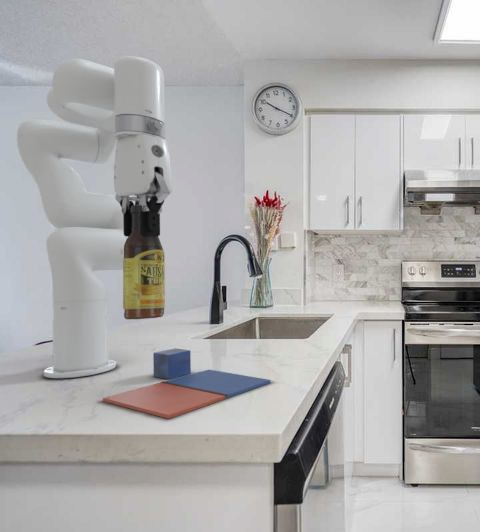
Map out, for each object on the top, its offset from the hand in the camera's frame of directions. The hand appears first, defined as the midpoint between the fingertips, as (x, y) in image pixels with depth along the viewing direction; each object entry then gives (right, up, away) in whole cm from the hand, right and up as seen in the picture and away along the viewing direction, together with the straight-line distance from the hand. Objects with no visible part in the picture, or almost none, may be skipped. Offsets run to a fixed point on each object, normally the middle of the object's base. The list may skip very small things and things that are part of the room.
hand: (141, 235), depth 74 cm
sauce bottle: (+1, -15, 0) cm, 15 cm away
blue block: (-2, -29, +14) cm, 32 cm away
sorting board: (+7, -29, +3) cm, 30 cm away
